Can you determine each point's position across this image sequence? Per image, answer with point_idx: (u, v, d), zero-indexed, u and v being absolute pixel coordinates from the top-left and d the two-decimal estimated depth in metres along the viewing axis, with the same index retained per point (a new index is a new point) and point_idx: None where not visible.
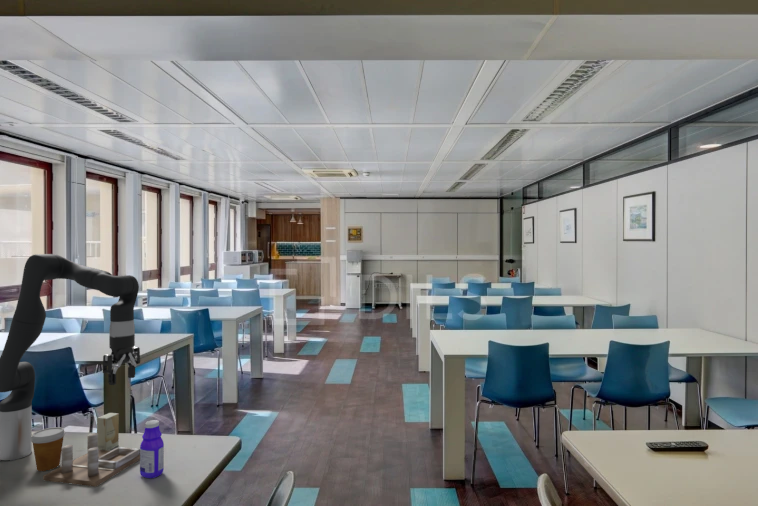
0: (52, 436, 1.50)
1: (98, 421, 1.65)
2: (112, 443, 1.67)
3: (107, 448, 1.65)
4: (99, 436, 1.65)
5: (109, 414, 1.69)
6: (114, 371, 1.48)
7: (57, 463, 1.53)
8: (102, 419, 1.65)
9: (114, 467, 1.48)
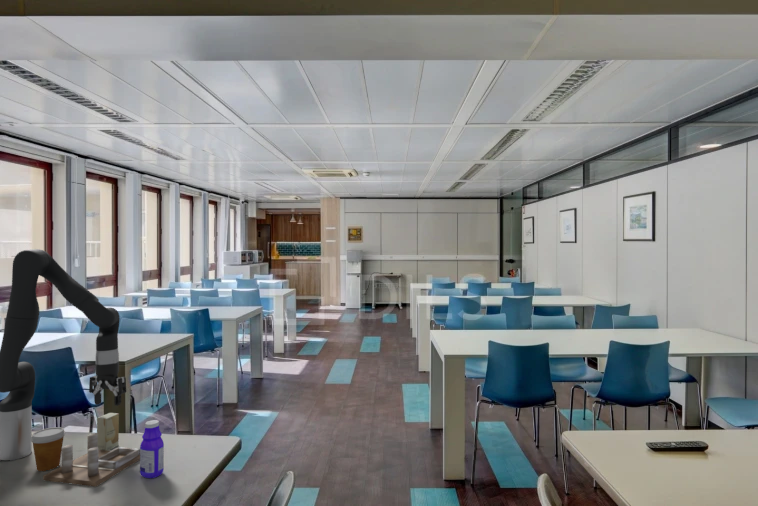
0: (52, 436, 1.50)
1: (98, 421, 1.65)
2: (112, 443, 1.67)
3: (107, 448, 1.65)
4: (99, 436, 1.65)
5: (109, 414, 1.69)
6: None
7: (57, 463, 1.53)
8: (102, 419, 1.65)
9: (114, 467, 1.48)
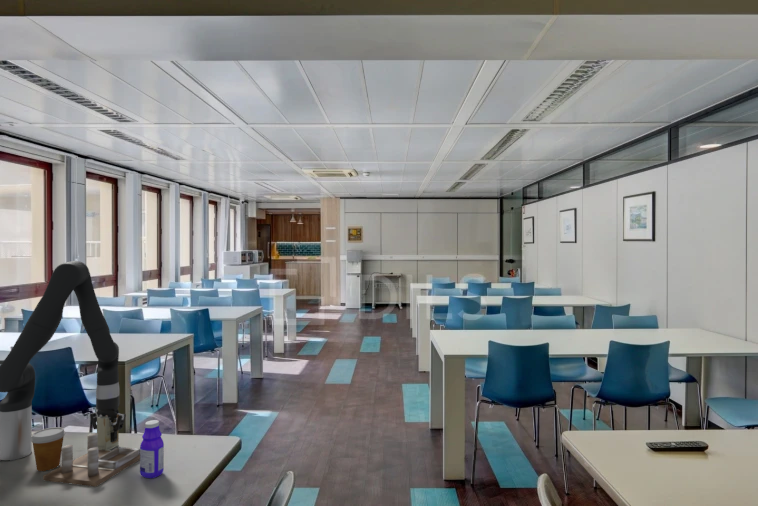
0: (52, 436, 1.50)
1: (98, 421, 1.65)
2: (112, 443, 1.67)
3: (107, 448, 1.65)
4: (99, 436, 1.65)
5: None
6: None
7: (57, 463, 1.53)
8: (102, 419, 1.65)
9: (114, 467, 1.48)
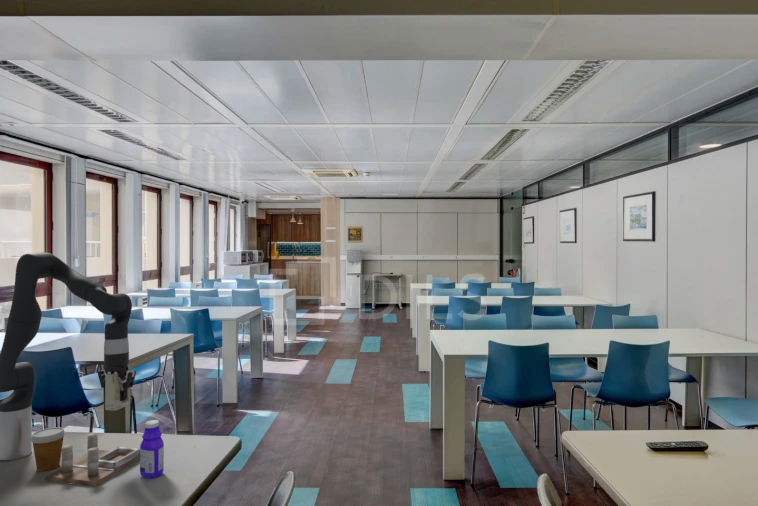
0: (52, 436, 1.50)
1: (106, 378, 1.53)
2: (122, 402, 1.56)
3: (117, 407, 1.53)
4: (108, 394, 1.53)
5: None
6: None
7: (57, 463, 1.53)
8: (111, 376, 1.53)
9: (114, 467, 1.48)
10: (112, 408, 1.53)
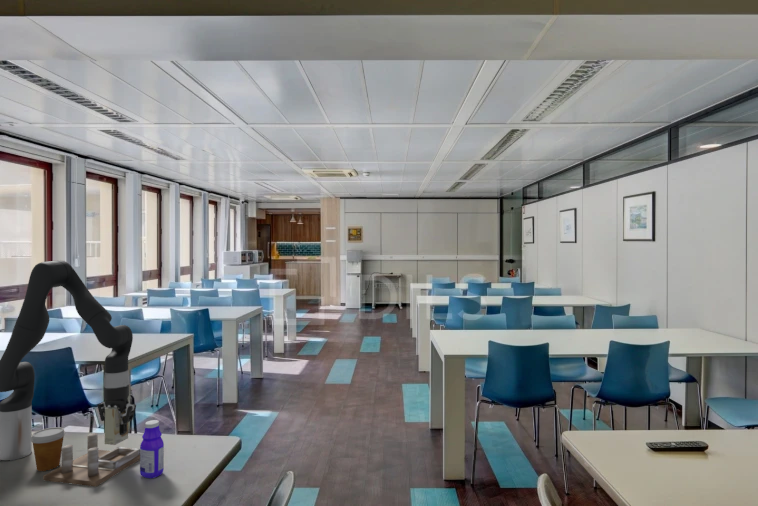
0: (52, 436, 1.50)
1: (106, 412, 1.52)
2: (122, 436, 1.54)
3: (116, 441, 1.51)
4: (107, 428, 1.51)
5: None
6: None
7: (57, 463, 1.53)
8: (111, 410, 1.51)
9: (114, 467, 1.48)
10: (111, 442, 1.51)
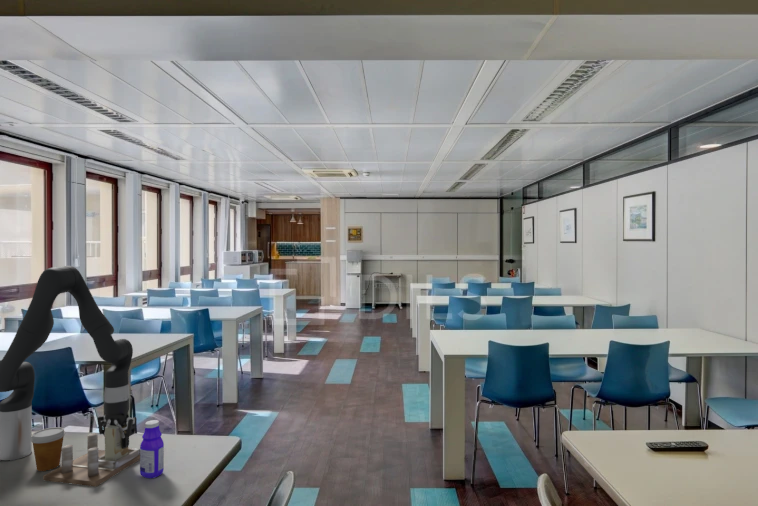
0: (52, 436, 1.50)
1: (106, 431, 1.52)
2: (122, 455, 1.54)
3: (116, 460, 1.51)
4: (107, 447, 1.51)
5: None
6: None
7: (57, 463, 1.53)
8: (111, 429, 1.51)
9: (114, 467, 1.48)
10: None
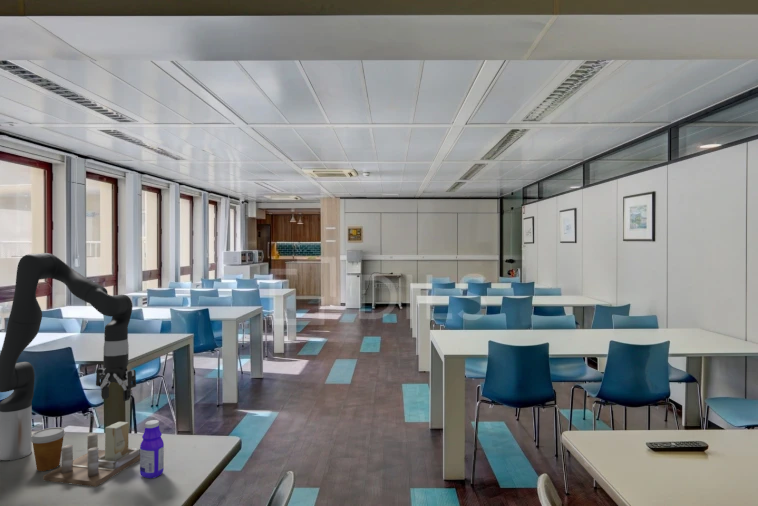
0: (52, 436, 1.50)
1: (106, 431, 1.52)
2: (122, 455, 1.54)
3: (116, 460, 1.52)
4: (108, 447, 1.52)
5: (118, 423, 1.56)
6: None
7: (57, 463, 1.53)
8: (111, 429, 1.52)
9: (114, 467, 1.48)
10: None
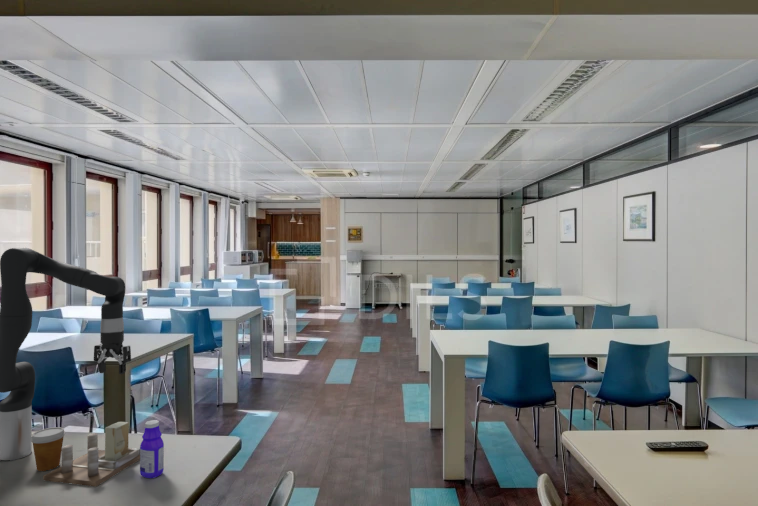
0: (52, 436, 1.50)
1: (106, 431, 1.52)
2: (122, 455, 1.54)
3: (116, 460, 1.52)
4: (108, 447, 1.52)
5: (118, 423, 1.56)
6: None
7: (57, 463, 1.53)
8: (111, 429, 1.52)
9: (114, 467, 1.48)
10: None
